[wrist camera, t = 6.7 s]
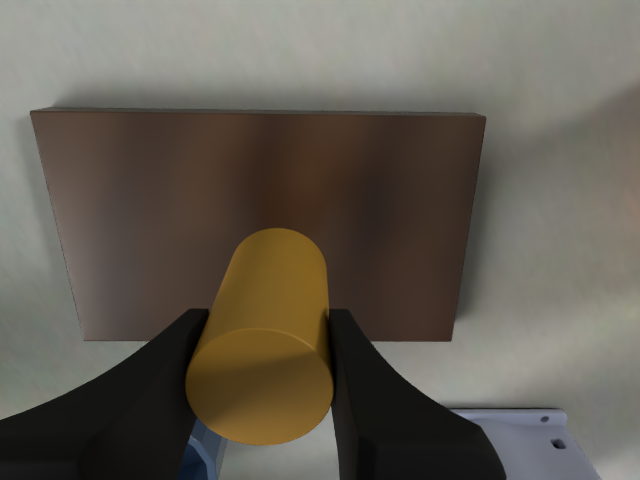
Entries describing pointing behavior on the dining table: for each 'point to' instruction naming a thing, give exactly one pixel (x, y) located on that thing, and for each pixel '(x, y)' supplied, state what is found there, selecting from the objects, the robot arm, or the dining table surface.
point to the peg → (266, 344)
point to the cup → (202, 454)
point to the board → (260, 208)
